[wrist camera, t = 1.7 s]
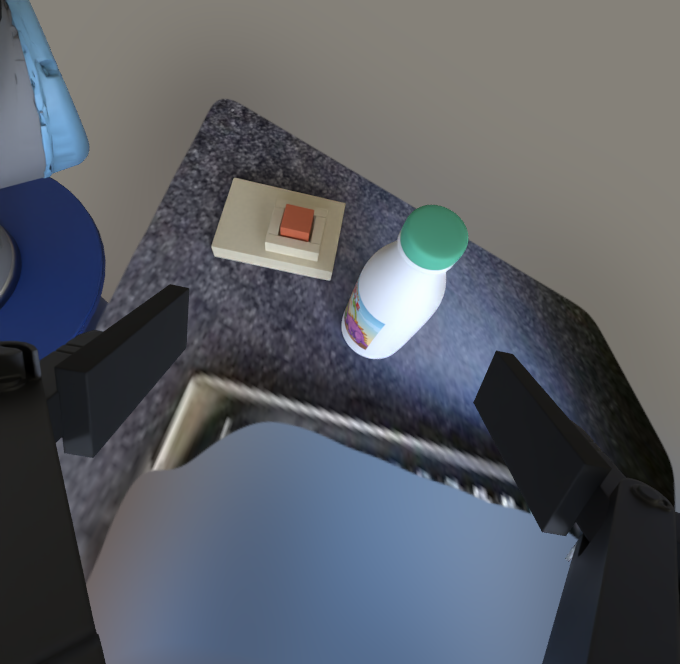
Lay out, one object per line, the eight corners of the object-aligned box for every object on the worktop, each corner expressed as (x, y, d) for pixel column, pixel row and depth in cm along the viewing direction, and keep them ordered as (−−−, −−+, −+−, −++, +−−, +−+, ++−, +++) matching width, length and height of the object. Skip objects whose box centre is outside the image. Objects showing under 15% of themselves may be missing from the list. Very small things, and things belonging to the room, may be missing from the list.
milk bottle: (405, 304, 46) (490, 195, 27) (402, 365, 43) (493, 289, 25) (344, 294, 45) (387, 174, 27) (336, 355, 43) (379, 270, 24)
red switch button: (280, 236, 43) (280, 227, 41) (286, 213, 44) (286, 203, 42) (308, 242, 43) (309, 233, 41) (313, 219, 44) (314, 209, 42)
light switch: (214, 256, 44) (208, 237, 41) (235, 189, 48) (232, 166, 44) (330, 281, 46) (334, 264, 42) (342, 214, 49) (347, 193, 45)
